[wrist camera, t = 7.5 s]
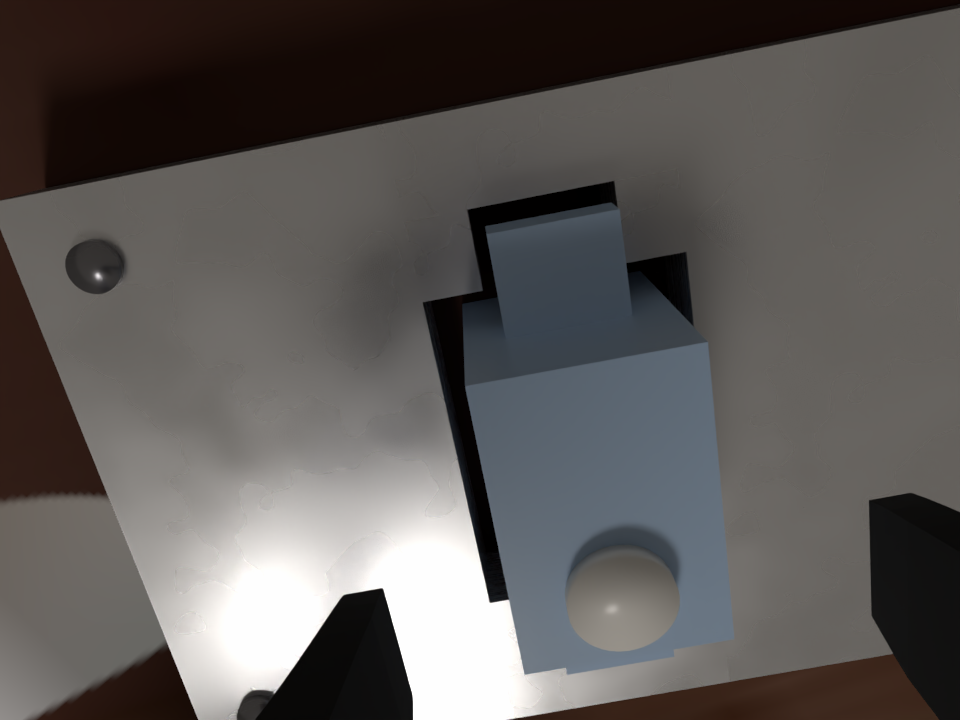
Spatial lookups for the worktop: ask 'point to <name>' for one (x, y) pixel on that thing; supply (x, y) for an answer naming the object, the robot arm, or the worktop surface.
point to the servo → (595, 449)
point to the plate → (423, 376)
